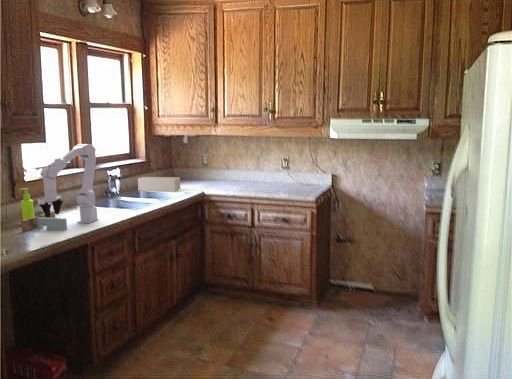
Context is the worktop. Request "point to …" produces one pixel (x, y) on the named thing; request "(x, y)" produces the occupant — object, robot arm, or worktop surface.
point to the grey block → (52, 223)
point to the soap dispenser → (27, 205)
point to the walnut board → (33, 222)
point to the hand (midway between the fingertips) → (52, 215)
